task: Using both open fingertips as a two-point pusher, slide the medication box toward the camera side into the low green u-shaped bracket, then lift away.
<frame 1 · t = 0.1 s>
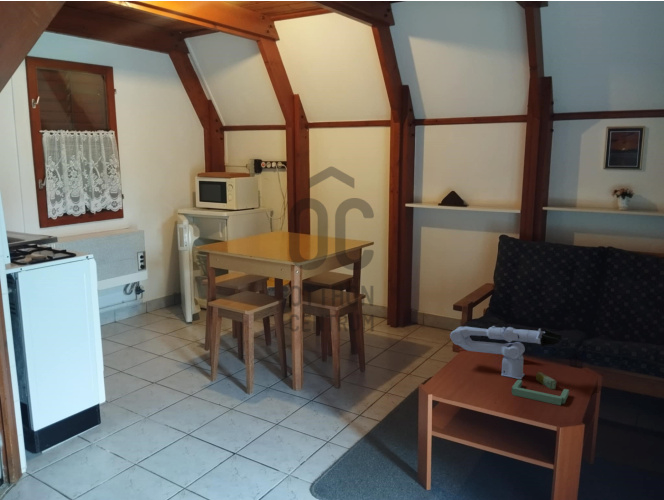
hand: (559, 339, 253), 22 cm above the table, tool horizontal, fingers open, 7 cm apart
medication box: (545, 385, 256), on the table
green u-shaped bracket: (540, 393, 245), on the table
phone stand: (515, 361, 287), on the table
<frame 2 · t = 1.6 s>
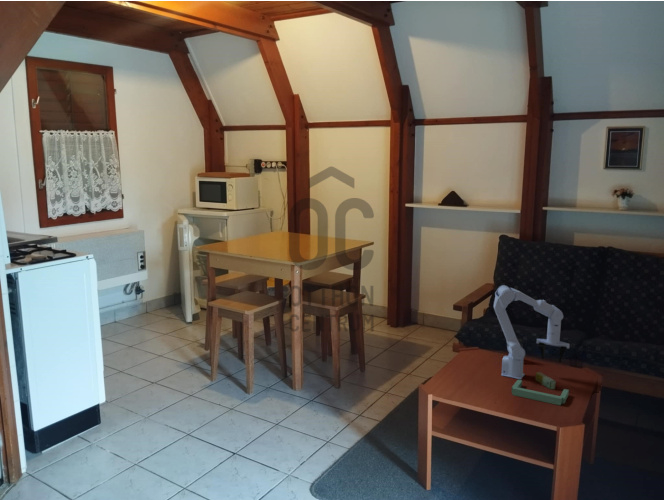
hand: (551, 360, 264), 8 cm above the table, tool pointing down, fingers open, 7 cm apart
nothing on the table moved.
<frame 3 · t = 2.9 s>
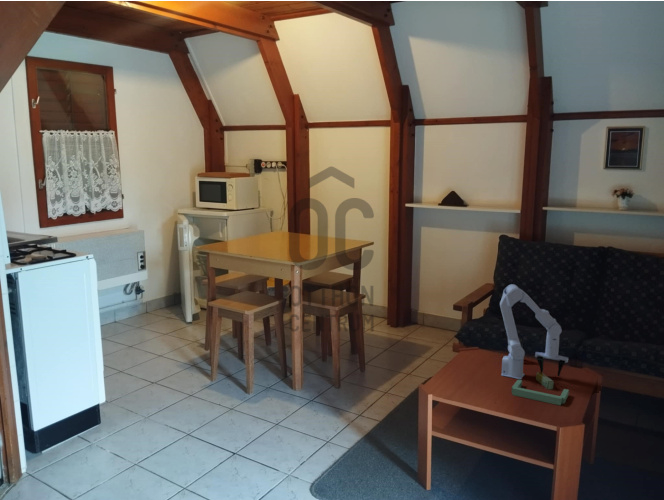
hand: (550, 373, 264), 2 cm above the table, tool pointing down, fingers open, 7 cm apart
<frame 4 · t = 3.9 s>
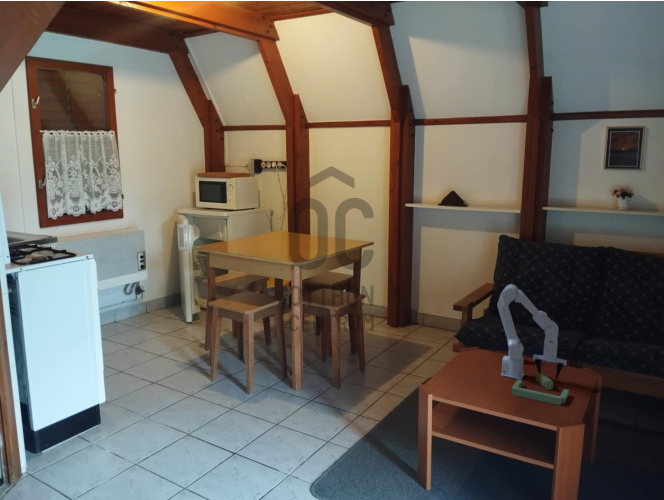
hand: (548, 376, 260), 2 cm above the table, tool pointing down, fingers open, 7 cm apart
medication box: (543, 385, 255), on the table, touching gripper
everything else where it was.
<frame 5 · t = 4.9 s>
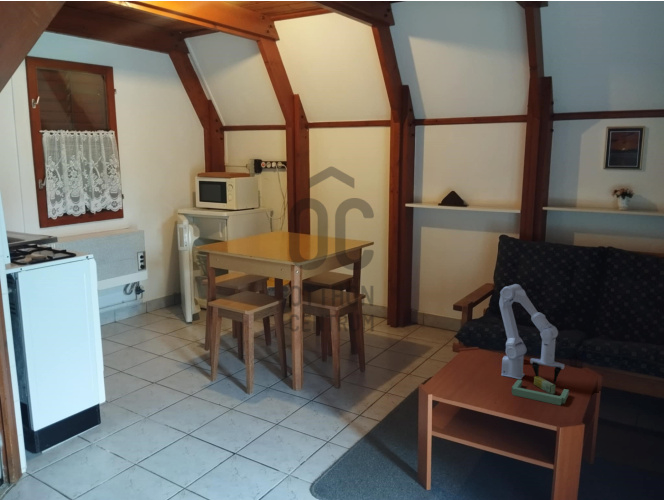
hand: (545, 380, 255), 2 cm above the table, tool pointing down, fingers open, 7 cm apart
medication box: (544, 389, 250), on the table, touching gripper
everything else where it was.
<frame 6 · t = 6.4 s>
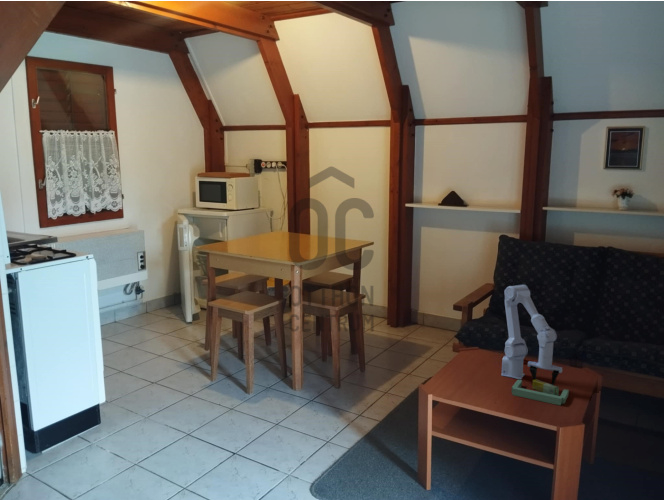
hand: (543, 384, 251), 2 cm above the table, tool pointing down, fingers open, 7 cm apart
medication box: (545, 392, 247), on the table, touching gripper
everything else where it was.
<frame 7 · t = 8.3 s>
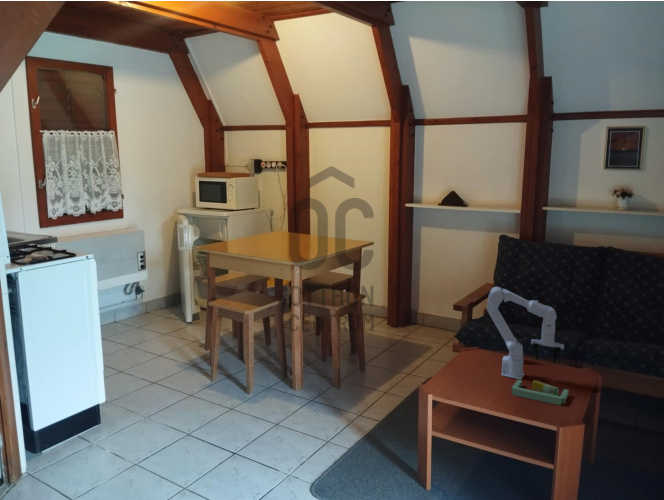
hand: (546, 360, 261), 9 cm above the table, tool pointing down, fingers open, 7 cm apart
medication box: (544, 393, 246), on the table
everything else where it was.
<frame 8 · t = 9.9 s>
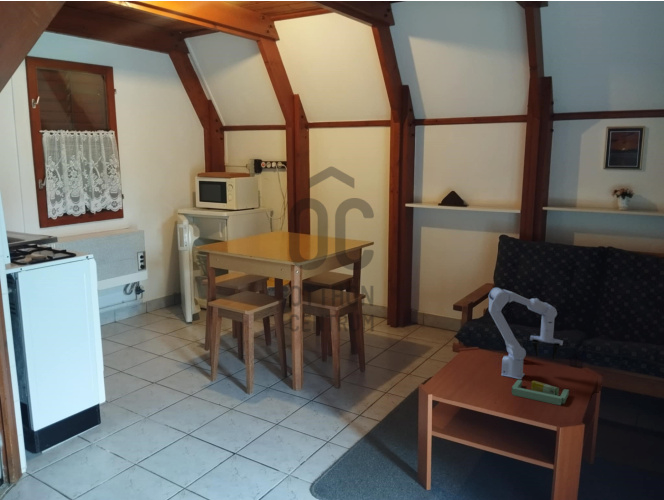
hand: (545, 356, 265), 9 cm above the table, tool pointing down, fingers open, 7 cm apart
at the end: medication box inside the target area (2.2 cm from its centre), on the table; medication box moved 10.9 cm from its start; medication box tilted 2° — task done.
